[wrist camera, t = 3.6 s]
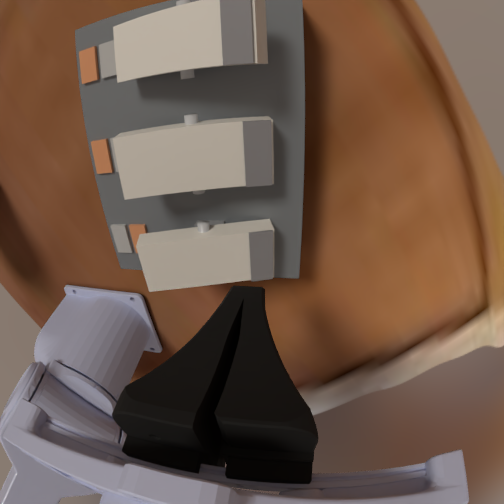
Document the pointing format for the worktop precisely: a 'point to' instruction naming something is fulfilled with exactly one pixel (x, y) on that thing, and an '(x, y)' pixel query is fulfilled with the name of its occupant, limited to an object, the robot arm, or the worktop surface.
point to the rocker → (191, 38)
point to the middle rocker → (195, 156)
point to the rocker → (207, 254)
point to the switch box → (208, 108)
